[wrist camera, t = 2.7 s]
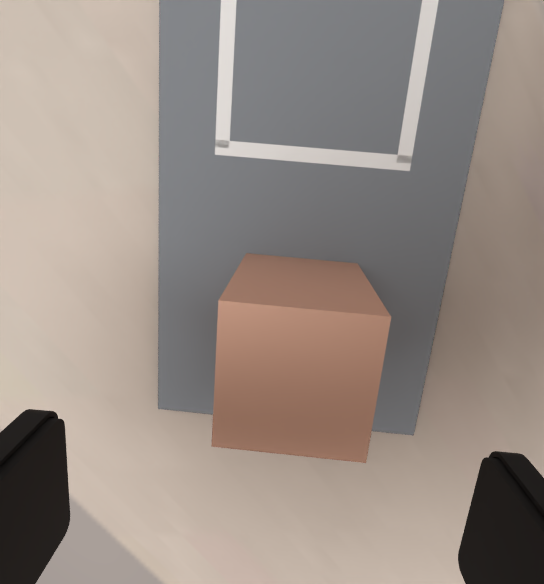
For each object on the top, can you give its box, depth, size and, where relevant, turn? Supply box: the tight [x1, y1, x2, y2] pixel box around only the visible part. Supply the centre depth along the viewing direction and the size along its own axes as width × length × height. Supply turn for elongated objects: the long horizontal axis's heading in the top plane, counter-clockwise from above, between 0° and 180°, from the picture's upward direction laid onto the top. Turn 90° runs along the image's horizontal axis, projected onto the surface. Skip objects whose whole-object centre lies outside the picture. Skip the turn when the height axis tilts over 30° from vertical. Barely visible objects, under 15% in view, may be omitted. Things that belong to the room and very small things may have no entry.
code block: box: [212, 253, 391, 463], centre depth 16 cm, size 5×5×7 cm
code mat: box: [158, 0, 504, 435], centre depth 18 cm, size 13×23×1 cm, turn 175°
